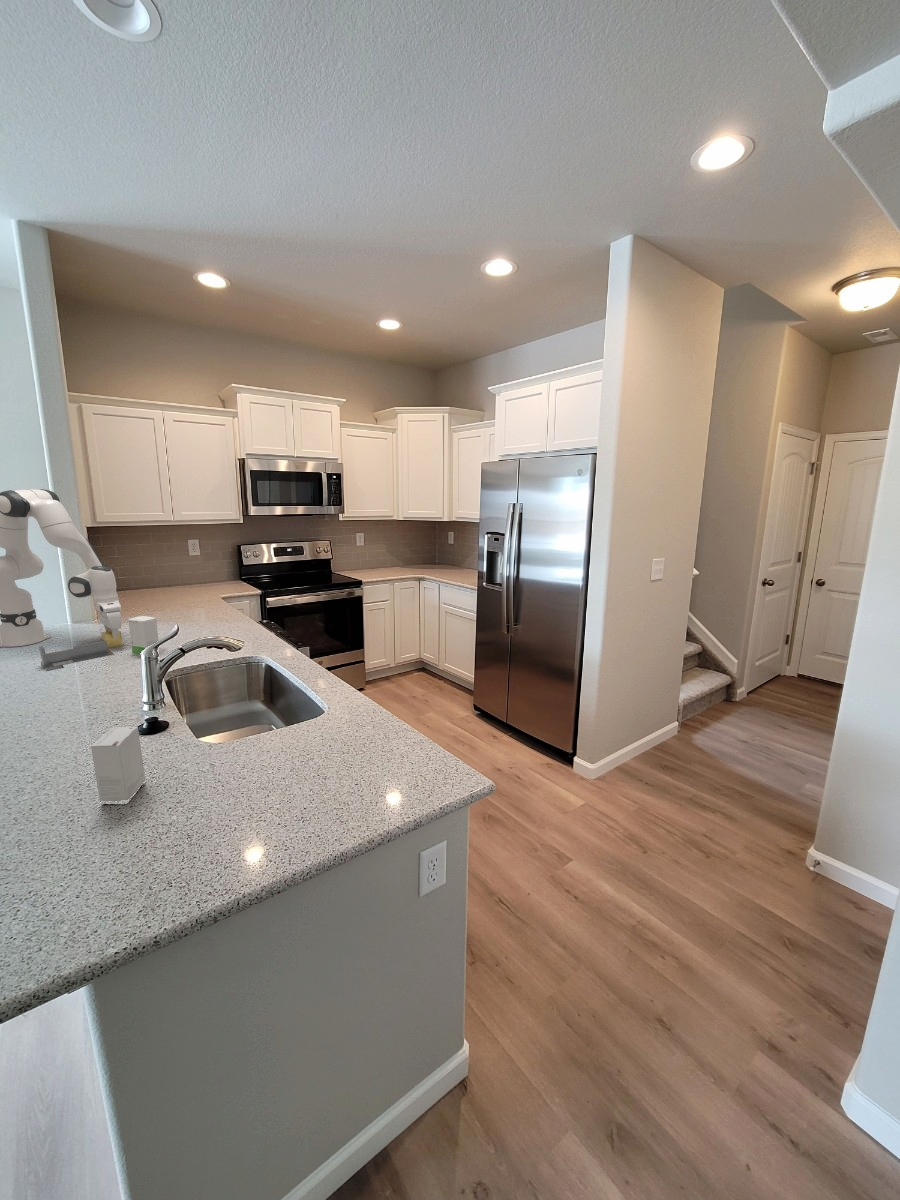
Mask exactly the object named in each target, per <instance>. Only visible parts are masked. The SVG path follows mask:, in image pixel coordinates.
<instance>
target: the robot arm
mask: <svg viewBox="0 0 900 1200" xmlns="http://www.w3.org/2000/svg"><path fill="white" fill-rule="evenodd" d="M30 517H31V518H34V519H35V520H36V521H37V524H38V525H39V528H40V530H41V532H42V535H43V537H44V539H45V540H46V541H47V543H49V544H50V545H52V546H53V547H55V548H58V549H64V550H68V551H71V552H73V553H75V554H76V555H78V557H80V559H81V561H83V563H84V564H85V566H86V568H87V570H86V571H85V572H83V573H81V574H77V575H74V576H72V577H70V578H69V580H68V582H67V589H68V591H69V593H70V595H72V596H73V597H75V598H79V599H81V598H87V597H92V601H93V606H94V611H97V612H98V621H99V622H100V623H101V624H102V625H103V627H104V629H105V632H107V631H108V629H111V631H112V637H113V638H118V630H121V628H122V627H123V626H122V624H123V623H122V621H123V620H122V613H121V611H122V610H123V609H122V605H121V603H120V598H119V595H118V592H117V587H118V586H117V582H116V576H115V573H114V572H113V570H112V568H111V567H108V566H105V565H104V563H103V561H102V560H101V558H100V557H99V554H98V553H97V551H96V549H95V548H94V546H93V545H92V544H91V542H90V541H89V539H88V538H86V537H84V536H83V535H82V534H81V533H80V531H79V530H78V529H77V527H76V526H75V523H74V521H73V520H72V518H71V516H70V513H69V512H68V510H67V509H66V508H65V507H64V505H63V504H62V502H61V501H60V498H59V496H58V495H57V493H56V492H54V491H51V490H49V489H44V488H43V489H41V488H40V489H35V488H24V489H15V490H12V489H11V490H10V489H8V490H4V491H1V492H0V548H2V549H3V550H5V555H0V622H1V624H0V648H1V647H2V648H3V647H5V648H8V647H9V648H11V647H21V646H29V645H33V644H37V643H40V642H43V641H45V640H49V639H50V638H51V636H50V634H46V633H45V629H44V625H43V622H42V620H41V619H40V620H39V619H38V618H37V612H36V609H35V608H34V604H33V599H32V594H31V592H30V591H28V590H27V589H23V588H21V587H19V586H18V585H17V584H16V581H18V580H24V579H30V578H33V577H36V576H38V575H40V574H42V572H43V570H44V562H43V560H42V559H41V557H40V556H39V555H37V554H35V552H33V551H32V550H31V549H30V546H29V540H28V539H29V535H28V534H29V518H30Z"/></svg>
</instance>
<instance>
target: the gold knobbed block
mask: <svg viewBox="0 0 900 1200" xmlns="http://www.w3.org/2000/svg"><path fill="white" fill-rule="evenodd" d="M101 639H102V640H101V641H107V647H108V649H112V648H111V647H113V648H117V647H116V646H118V647H122V646H121V645H123V644H124V643H123V636H122V632H121V631H120V629H118V638H113V637H112V631H111V629H108V631H107V632H106V631H102V632H101ZM123 646H124V645H123Z"/></svg>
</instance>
